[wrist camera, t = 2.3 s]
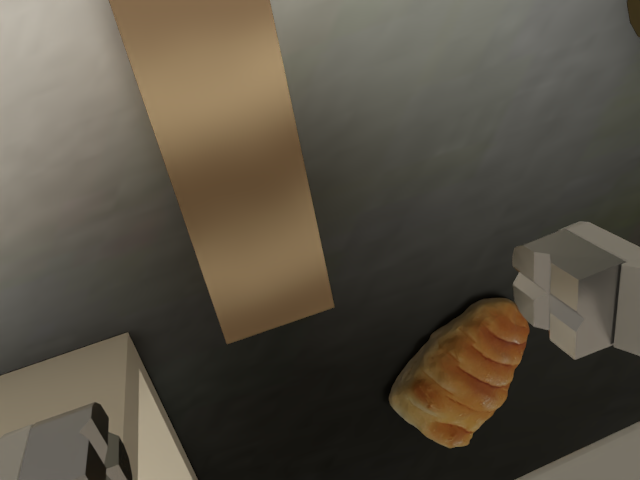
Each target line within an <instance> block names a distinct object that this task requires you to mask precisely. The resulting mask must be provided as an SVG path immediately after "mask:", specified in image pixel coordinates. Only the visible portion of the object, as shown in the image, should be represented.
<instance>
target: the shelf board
mask: <svg viewBox="0 0 640 480" xmlns="http://www.w3.org/2000/svg"><path fill="white" fill-rule="evenodd" d="M109 3H110V5H111V8H112V11H113V14H114V17H115V20H116V23H117V26H118V29H119V32H120V35H121V37H122V40H123V43H124V46H125V49H126V52H127V55H128V58H129V61H130V64H131V67H132V70H133V72H134V75H135V78H136V81H137V84H138V87H139V90H140V93H141V96H142V99H143V102H144V104H145V107H146V110H147V113H148V116H149V119H150V122H151V125H152V128H153V131H154V134H155V137H156V139H157V142H158V145H159V148H160V151H161V154H162V157H163V160H164V163H165V166H166V169H167V171H168V174H169V177H170V180H171V183H172V186H173V189H174V192H175V195H176V198H177V201H178V203H179V206H180V209H181V212H182V215H183V218H184V221H185V224H186V227H187V230H188V233H189V236H190V238H191V241H192V244H193V247H194V250H195V253H196V256H197V259H198V262H199V265H200V268H201V270H202V273H203V276H204V279H205V282H206V285H207V288H208V291H209V294H210V297H211V300H212V303H213V305H214V308H215V311H216V314H217V317H218V320H219V323H220V326H221V329H222V332H223V335H224V337H225V340H226V343H227V344H229V343H232V342H235V341H238V340H241V339H244V338H247V337H250V336H253V335H255V334H258V333H261V332H264V331H267V330H270V329H273V328H276V327H279V326H282V325H284V324H287V323H290V322H293V321H296V320H299V319H302V318H305V317H308V316H311V315H314V314H316V313H319V312H322V311H325V310H328V309H331V308H334V302H333V297H332V292H331V288H330V283H329V278H328V274H327V269H326V264H325V259H324V255H323V250H322V245H321V240H320V236H319V231H318V226H317V222H316V217H315V212H314V207H313V203H312V198H311V193H310V188H309V184H308V179H307V174H306V170H305V165H304V160H303V155H302V151H301V146H300V141H299V136H298V132H297V127H296V122H295V118H294V113H293V108H292V103H291V99H290V94H289V89H288V85H287V80H286V75H285V70H284V66H283V61H282V56H281V51H280V47H279V42H278V37H277V33H276V28H275V23H274V18H273V14H272V9H271V4H270V0H109Z"/></svg>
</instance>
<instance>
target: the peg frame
mask: <svg viewBox="0 0 640 480" xmlns="http://www.w3.org/2000/svg"><path fill="white" fill-rule="evenodd" d="M94 402H97V403H99V404H101V406H102V407H103V409H104V411H105V412H106V414H107V415H108V417H109V429H108V432H110V433H113V434H115V435H118V436H119V437H120V439H121V441H122V442H123V444H124V446H125V449H126V452H127V454H128V457H129V461H130V466H131V471H132V480H198V479H197V477H196V475H195V472H194V470H193V468H192V466H191V464H190V462H189V460H188V458H187V456H186V453H185V451H184V449H183V447H182V445H181V443H180V441H179V439H178V437H177V434H176V432H175V430H174V428H173V426H172V424H171V422H170V420H169V418H168V416H167V413H166V411H165V409H164V407H163V405H162V403H161V401H160V399H159V397H158V394H157V392H156V390H155V388H154V386H153V384H152V382H151V380H150V378H149V376H148V373H147V371H146V369H145V367H144V365H143V363H142V361H141V359H140V357H139V354H138V352H137V350H136V348H135V346H134V344H133V342H132V340H131V338H130V335H129V333H128V332H127V333H124V334H121V335H118V336H115V337H112V338H109V339H106V340H103V341H101V342H98V343H95V344H92V345H89V346H86V347H83V348H80V349H77V350H74V351H71V352H68V353H65V354H62V355H59V356H57V357H54V358H51V359H48V360H45V361H42V362H39V363H36V364H33V365H30V366H27V367H24V368H21V369H18V370H15V371H13V372H10V373H7V374H4V375H1V376H0V438H1V437H2V436H3V435H4V434H6V433H9V432H12V431H14V430H17V429H20V428H23V427H25V426H28V425H31V424H35V423H36V422H39V421H42V420H45V419H48V418H51V417H53V416H56V415H59V414H62V413H65V412H68V411H71V410H74V409H76V408H79V407H82V406H85V405H88V404H91V403H94Z"/></svg>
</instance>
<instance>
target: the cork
mask: <svg viewBox="0 0 640 480" xmlns="http://www.w3.org/2000/svg"><path fill="white" fill-rule="evenodd" d="M627 5H628V11H629V17H630V23H631V24H632V26H633V28H634V30H635V32H636V34H637V35H638V36H639V37H640V0H628V2H627Z"/></svg>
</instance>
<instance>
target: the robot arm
mask: <svg viewBox="0 0 640 480" xmlns="http://www.w3.org/2000/svg"><path fill="white" fill-rule="evenodd" d="M512 266H513V267H514V268H515V269H516V270H517V271H518V272H519V274H518V276H517V278H516V279H515V281H514V283H513V294H514V300H515V302H516V305H517V307H518V310H519V311H520V313H521V314H522V315H523V317H524V318H525V319H526V320H527V321H528V322H529V323H530V324H532V325H533V326H534V327H538V328H542V329H545V330H549V337H550V340H551V341H552V342H553V343H555V344H556V345H557V346H558V347H560V348H561V349H562V350H563V351H564V352H566V353H567V354H568V355H569V356H571V357H572V358H573V359H574V360H576V359H578V358H581V357H584V356H586V355H589V354H591V353H594V352H596V351H599V350H601V349H604V348H606V347H609V346H612V345H614V347H615V348H618V349H621V350H624V351H627V352H630V353H633V354H635V355H638V356H640V247H639V246H637V245H634V244H632V243H630V242H628V241H626V240H624V239H622V238H620V237H618V236H616V235H614V234H612V233H610V232H608V231H606V230H604V229H602V228H600V227H598V226H596V225H594V224H592V223H590V222H582V221H580V222H577V223H575V224H572V225H570V226H567V227H565V228H562V229H560V230H558V231H557V232H554V233H552V234H549V235H546V236H544V237H541V238H538V239H536V240H533V241H530V242H528V243H525V244H522V245H520V246H517V247H515V249H514V252H513V254H512ZM108 429H109V417H108V415H107V414H106V412H105V411H104V409H103V407H102V406H101V404H99V403H97V402H94V403H91V404H88V405H85V406H82V407H79V408H76V409H74V410H71V411H68V412H65V413H62V414H59V415H56V416H53V417H51V418H48V419H45V420H42V421H39V422H36V423H35V424H31V425H28V426H25V427H23V428H20V429H17V430H14V431H12V432H9V433H6V434H4V435H3V436H2V437H1V438H0V480H132V471H131V466H130V461H129V457H128V454H127V452H126V449H125V446H124V444H123V442H122V441H121V439H120V437H119V436H118V435H115V434H113V433H110V432H108ZM515 480H640V421H639V422H637V423H635V424H633V425H631V426H629V427H626V428H624V429H622V430H620V431H618V432H616V433H614V434H611V435H609V436H607V437H605V438H603V439H601V440H599V441H596V442H594V443H592V444H590V445H588V446H586V447H584V448H581V449H579V450H577V451H575V452H573V453H571V454H569V455H567V456H564V457H562V458H560V459H558V460H556V461H554V462H552V463H549V464H547V465H545V466H543V467H541V468H539V469H537V470H534V471H532V472H530V473H528V474H526V475H524V476H522V477H520V478H517V479H515Z"/></svg>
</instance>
